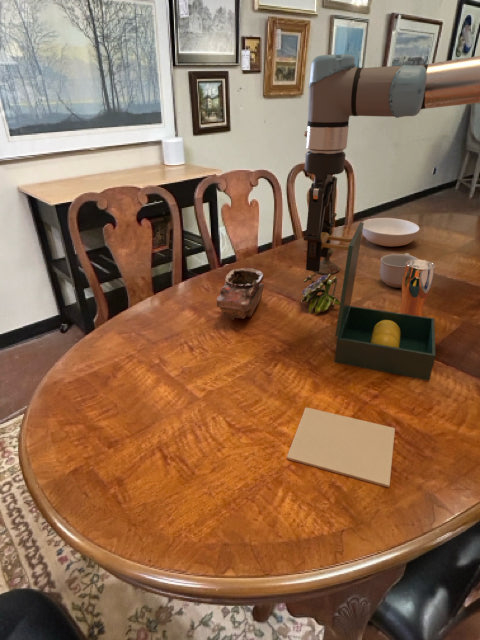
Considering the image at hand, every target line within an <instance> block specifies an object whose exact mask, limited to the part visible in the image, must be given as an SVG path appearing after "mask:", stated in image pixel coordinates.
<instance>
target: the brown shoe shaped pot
mask: <svg viewBox="0 0 480 640" xmlns="http://www.w3.org/2000/svg"><path fill="white" fill-rule="evenodd" d="M264 278H265V274H264V273H263V272H262V271H261V270H259V269H257V268H252V267H241V268H234V269H231V270H230V271H229V272H228V273H227V274H226V276H225V282H224V284H223V286H222V287H221V288H220V293H219V296H217V299H216V307H218V308H219V310H221V311H220V312H221V314H222V315H223V316H226V317H230V319H231V320H234V319H235V318H236V319H245V318H246V317H248V318H250V317H252V315H253V313H254V311H256V308H257V306H258V304H259V303H260V301H261V299H262V296H263V293H264V287H265V284H264V283H263V281H264Z"/></svg>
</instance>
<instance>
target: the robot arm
mask: <svg viewBox="0 0 480 640" xmlns="http://www.w3.org/2000/svg"><path fill="white" fill-rule="evenodd" d="M355 62H356V59H355V55H353V54H347V53H342V54H335V53H334V54H321V55H317V56H315V57H314V58H313V60H312V61H311V64H310V65H311V66H310V75H309V84H308V86H307V87H308V107H307V126H306V127H307V128H306V131H305V130H304V133H303V136H304V137H305V138H306V145H305V148H306V149H307V150H308V151H307V152H306V153H305V156H304V157H305V159H304V161H305V162H304V171H305V172H306V173H307V174H310V175H314V180H313V182H312V183H311V185H310V187H309V190H308V209H307V218H306V227H305V228H306V230H305V231H306V232H305V236H303V241H307V245H306V260H305V261H306V262H305V271H309V272H314V271H316V272H319V270H320V261H321V258H324V257H328V248H327V247H323V248H322V249H321V245H322V240H321V233H322V232H327V233H328V234H329V235H330V228H328V227H332V228H334V227H335V223H331V222H332V220H333V218H332V217H333V200H334V187H335V180H336V178H335V177H336V176H334V175H339V174H343V173H344V171H345V164H346V153H345V151H344V150H346V149H347V147H348V138H349V123H350V122H349V121H350V117H385V118H386V117H393V118H395V119H396V118H398V119H400V118H404V117H415V116H417V115H418V114H419V113H420V112H421V110H426V109H433V108H434V109H436V108H444V107H452V106H462V105H471V104H480V55H476V56H470V57H465V58H464V57H463V58H457V59H452V60H451V59H450V60H446V61H445V60H444V61H438V62H431V63H426V64H419V65H418V64H417V65H412V64H403V65H389V66H373V67H372V66H371V67H363V66H362V67H359V66H356V63H355ZM326 243H329V240H327V242H326ZM316 272H315V273H316Z"/></svg>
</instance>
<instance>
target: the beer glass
mask: <svg viewBox="0 0 480 640" xmlns="http://www.w3.org/2000/svg"><path fill="white" fill-rule="evenodd" d="M435 269H436V265H435V263H433V262H431V261H429V260H426V259H419V260H417V259H416V260H409V261H407V262H406V267H405V270H404V274H403V278H402V288H401V303H400V308H399V309H398V312H397V313H402V314H409V315H416V316H422V317H423V311H424V306H425V304H426V301H427V299H428V297H429V294H430V292H431V290H432V286H433V283H434V277H435Z"/></svg>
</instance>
